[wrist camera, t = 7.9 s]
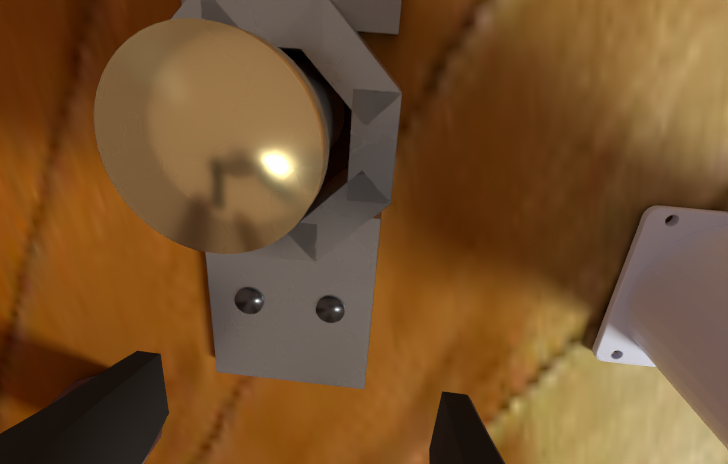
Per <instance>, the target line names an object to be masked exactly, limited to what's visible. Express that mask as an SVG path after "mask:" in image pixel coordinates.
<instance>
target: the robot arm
mask: <svg viewBox="0 0 728 464" xmlns="http://www.w3.org/2000/svg"><path fill="white" fill-rule="evenodd" d="M670 215H673V218H672V219H671V221H669V222H667V223H665V220H666V218H667V217H668V216H670ZM614 351H617V352H616V353H614V354H612V353H613V352H614ZM592 352H593V354H594V355H595V357H596V358H597V359H598V360H600V361H606V362H615V363H624V364H633V365H642V366H651V367H657V368H658V369H659V370H660V371H661V373H662V374H663V375H664V376H665V377H666V378H667V380H668V381H669V382H670V383H671V384H672V385H673V387H674V388H675V389H676V390H677V391H678V392H679V393H680V395H681V396H682V397H683V398H684V399H685V400H686V402H687V403H688V404H689V405H690V406H691V407H692V409H693V410H694V411H695V412H696V413H697V414H698V416H699V417H700V418H701V419H702V420H703V421H704V423H705V424H706V425H707V426H708V427H709V428H710V429H711V431H712V432H713V433H714V434H715V435H716V436H717V438H718V439H719V440H720V441H721V442H722V443H723V445H724V446H725V447H726V448H727V449H728V212H726V211H715V210H704V209H693V208H682V207H671V206H661V205H657V206H652V207H650V208H648V209H647V210H646V211H645V212H644V214H643V215H642V218H641V220H640V223H639V226H638V228H637V231H636V234H635V236H634V239H633V242H632V244H631V247H630V250H629V252H628V255H627V258H626V260H625V263H624V266H623V268H622V271H621V274H620V276H619V279H618V282H617V284H616V287H615V290H614V292H613V295H612V298H611V300H610V303H609V306H608V308H607V311H606V314H605V316H604V319H603V321H602V324H601V327H600V329H599V332H598V335H597V337H596V340H595V343H594V345H593V349H592ZM168 414H169V410H168V403H167V396H166V389H165V382H164V375H163V368H162V361H161V354H158V353H150V352H143V351H136V352H135V353H133V354H131V355H130V356H128V357H126V358H124V359H123V360H121V361H120V362H118V363H116V364H115V365H113V366H112V367H110V368H108V369H107V370H105V371H104V372H102V373H100V374H99V375H97V376H96V377H94V378H92V379H91V380H89V381H88V382H86V383H85V384H83V385H81V386H80V387H78V388H76V389H75V390H73V391H72V392H70V393H68V394H67V395H65V396H64V397H62V398H60V399H59V400H57V401H55V402H54V403H52V404H51V405H49V406H47V407H46V408H44V409H42V410H41V411H39V412H37V413H36V414H34V415H32V416H30V417H29V418H27V419H25V420H24V421H22V422H20V423H18V424H17V425H15V426H13V427H11V428H10V429H8V430H6V431H4V432H3V433H1V434H0V464H142V463H143V461H144V460H145V458H146V456H147V455H148V453H149V451H150V449H151V447H152V446H153V444H154V442H155V440H156V438H157V436H158V434H159V432H160V430H161V428H162V426H163V424H164V422H165V420H166V418H167V416H168ZM429 455H430V464H505V462H504V461H503V459H502V457H501V455H500V454H499V452H498V450H497V448H496V447H495V445H494V443H493V441H492V439H491V438H490V436H489V434H488V432H487V430H486V428H485V426H484V425H483V423H482V421H481V419H480V417H479V415H478V413H477V411H476V409H475V407H474V405H473V403H472V401H471V399H470V398H469V396H468V395H465V394H458V393H450V392H443V391H442V395H441V400H440V404H439V409H438V413H437V418H436V422H435V427H434V431H433V435H432V440H431V444H430V449H429Z"/></svg>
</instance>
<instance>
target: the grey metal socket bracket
mask: <svg viewBox="0 0 728 464" xmlns="http://www.w3.org/2000/svg"><path fill="white" fill-rule="evenodd" d="M181 2H182V6H181V7H180V8H179V10H178V11H177V12H176V13H175V14H174V16H173V17H172V18H171V19H170V20H172V19H181V18H195V19H205V20H210V21H215V22H220V23H224V24H228V25H231V26H235V27H239V28H241V29H244V30H247V31H250V32H253V33H255V34H257V35H259V36H261V37H263V38H265V39H267V40H268V41H270V42H271V43H272V44H274V45H275V46H277V47H278V48H280V49H281V50H293V51H303V52H304V53H305V55H306V56H307V57H308V58H309V59H310V61H311V62H312V63H313V64H314V65H315V67H316V68H317V69H318V70H319V71H320V73H321V74H322V75H323V76H324V77H325V79H326V80H327V81H328V82H329V83H330V85H331V86H332V87H333V88H334V90H335V91H336V92H337V93H338V94H339V96H340V97H341V98H342V99H343V100H344V102H345V103H346V104H347V105H348V106H349V108H350V109H351V110H352V118H351V135H350V152H349V166H347V167H346V168H345V169H344V170H343V171H342V172H340V173H339V174H338V175H337V176H336V177H334V178H333V179H332V180H331V181H330V182H329V183H327V184H326V185H325V186H324V187H323V188H322V189H320V191H319V193H318V195H317V196H316V198H315V199H314V201H313V203H312V204H311V206H310V207H309V209H308V210H307V212H306V213H305V215H304V216H303V218H302V219H301V220H300V221H299V222H298V223H297V225H296V226H295V227H294V228H293V229H292V230H291V231H289V232H288V233H287V234H286V235H285V236H283V237H282V238H280V239H279V240H277V241H276V242H274V243H272V244H270V245H268V246H266V247H263V248H261V249H257V250H254V251H251V252H245V253H239V254H216V253H208V252H205V253H206V263H207V274H208V284H209V295H210V305H211V315H212V326H213V336H214V347H215V357H216V368H217V372H221V373H230V374H239V375H247V376H256V377H265V378H273V379H282V380H290V381H299V382H308V383H316V384H325V385H333V386H342V387H351V388H359V389H364V387H365V378H366V367H367V357H368V346H369V336H370V326H371V315H372V305H373V294H374V284H375V274H376V263H377V253H378V243H379V232H380V222H381V213H379V212H381V211H382V210H383V209H385V208H386V207H387V206H388V205H390V204H391V194H392V184H393V175H394V165H395V156H396V146H397V137H398V127H399V118H400V108H401V99H402V89H401V86H400V85H399V84H398V83H397V81H396V80H395V79H394V77H393V76H392V75H391V74H390V72H389V71H388V70H387V68H386V67H385V66H384V65H383V63H382V62H381V61H380V59H379V58H378V57H377V56H376V54H375V53H374V52H373V50H372V49H371V48H370V47H369V45H368V44H367V43H366V41H365V40H364V39H363V38H362V36H361V35H360V34H359V33H370V34H383V35H396V36H398V35H399V24H400V14H401V3H402V0H181Z"/></svg>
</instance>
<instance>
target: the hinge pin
mask: <svg viewBox="0 0 728 464" xmlns="http://www.w3.org/2000/svg"><path fill="white" fill-rule="evenodd" d="M343 123H344V105H343V101H342V98H341V97H340V96H339V94H338V93H337V92H336V91H335V90H334V88H333V87H332V86H331V85H330V83H329V82H328V81H327V80H326V79H325V77H324V76H323V75H322V74H321V73H320V71H319V70H318V69H317V68H316V67H315V66H314V65H312V64H310V63H307V62H303V61H296V60H292V59H291V58H290V57H289V56H288V55H287V54H285V53H284V52H283V51H282V50H281V49H280V48H278V47H277V46H275V45H274V44H272V43H271V42H270V41H268V40H267V39H265V38H263V37H261V36H259V35H257V34H255V33H253V32H250V31H247V30H244V29H241V28H239V27H235V26H231V25H228V24H224V23H220V22H215V21H210V20H205V19H195V18H181V19H172V20H167V21H163V22H159V23H156V24H153V25H151V26H149V27H147V28H144V29H142V30H140V31H139V32H137V33H136V34H134V35H133V36H131V37H130V38H129V39H127V40H126V41H125V42H124V43H123V44H122V45H121V46H120V47H119V48H118V49H117V50H116V52H115V53H114V54H113V56H112V57H111V59H110V60H109V61H108V63H107V65H106V67H105V69H104V71H103V73H102V75H101V78H100V81H99V84H98V87H97V92H96V97H95V103H94V128H95V136H96V141H97V146H98V150H99V153H100V156H101V159H102V162H103V165H104V167H105V169H106V171H107V174H108V176H109V178H110V180H111V181H112V183H113V185H114V186H115V188H116V190H117V191H118V193H119V194H120V195H121V197H122V198H123V199H124V201H125V202H126V204H127V205H128V206H129V207H130V208H131V209H132V210H133V211H134V212H135V213H136V214H137V215H138V216H139V217H140V218H141V219H142V220H143V221H144V222H145V223H147V224H148V225H149V226H150V227H152V228H153V229H155V230H156V231H157V232H159V233H160V234H162V235H164V236H165V237H167V238H169V239H170V240H172V241H174V242H177V243H179V244H181V245H183V246H186V247H189V248H192V249H195V250H198V251H203V252H208V253H216V254H239V253H245V252H251V251H254V250H257V249H261V248H263V247H266V246H268V245H270V244H272V243H274V242H276V241H277V240H279V239H280V238H282V237H283V236H285V235H286V234H287V233H288V232H289V231H291V230H292V229H293V228H294V227H295V226H296V225H297V223H298V222H299V221H300V220H301V219H302V218H303V216H304V215H305V213H306V212H307V210H308V209H309V207H310V206H311V204H312V203H313V201H314V199H315V198H316V196H317V195H318V193H319V191H320V188H321V186H322V184H323V182H324V178H325V175H326V171H327V167H328V160H329V150H330V148H331V147H332V146H333V145H334V144H335V142H336V141H337V139H338V138H339V136H340V133H341V131H342V127H343Z"/></svg>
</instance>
